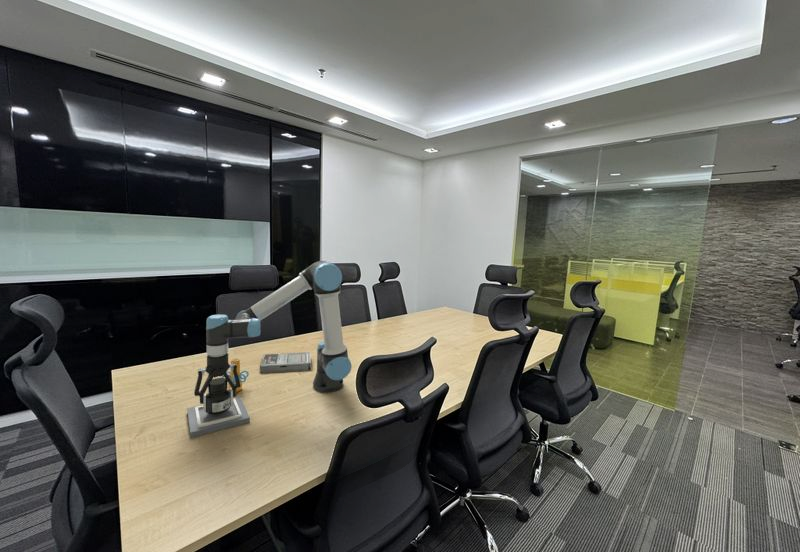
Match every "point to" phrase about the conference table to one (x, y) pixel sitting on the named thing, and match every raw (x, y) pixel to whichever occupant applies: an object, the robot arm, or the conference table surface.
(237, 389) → the orange post with loops
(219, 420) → the base plate
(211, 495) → the conference table surface
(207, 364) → the robot arm
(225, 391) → the ink bottle
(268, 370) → the hard drive
